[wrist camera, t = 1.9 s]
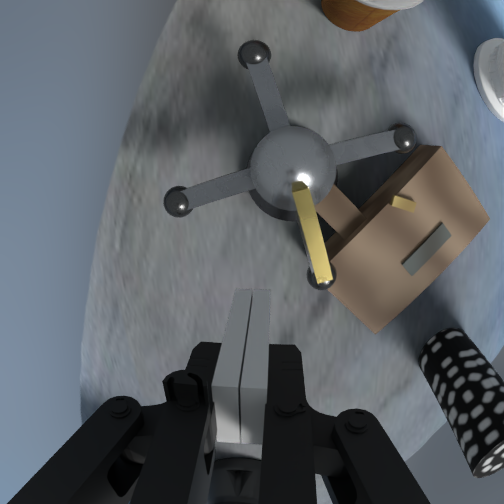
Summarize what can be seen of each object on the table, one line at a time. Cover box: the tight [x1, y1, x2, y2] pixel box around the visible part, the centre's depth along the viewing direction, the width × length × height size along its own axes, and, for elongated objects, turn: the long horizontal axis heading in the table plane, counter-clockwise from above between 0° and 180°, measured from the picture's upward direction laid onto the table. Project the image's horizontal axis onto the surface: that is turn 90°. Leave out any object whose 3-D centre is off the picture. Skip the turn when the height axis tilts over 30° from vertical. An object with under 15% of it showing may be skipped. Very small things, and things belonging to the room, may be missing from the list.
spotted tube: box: [419, 328, 504, 478], centre depth 29 cm, size 8×8×20 cm
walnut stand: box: [314, 145, 490, 334], centre depth 31 cm, size 18×16×6 cm
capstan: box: [164, 40, 416, 290], centre depth 27 cm, size 22×22×11 cm
